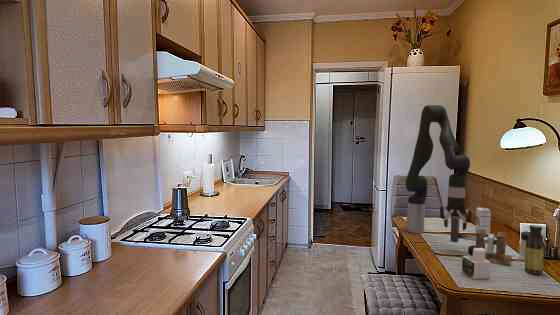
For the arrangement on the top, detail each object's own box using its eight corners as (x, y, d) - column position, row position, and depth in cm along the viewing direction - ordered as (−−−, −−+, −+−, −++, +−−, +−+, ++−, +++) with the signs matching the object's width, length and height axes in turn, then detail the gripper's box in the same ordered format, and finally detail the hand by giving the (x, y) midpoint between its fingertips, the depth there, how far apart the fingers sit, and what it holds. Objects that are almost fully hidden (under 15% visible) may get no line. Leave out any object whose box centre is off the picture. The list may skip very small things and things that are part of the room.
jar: (546, 261, 146) (548, 235, 145) (536, 264, 142) (538, 238, 141) (524, 254, 154) (526, 230, 153) (514, 257, 150) (516, 232, 150)
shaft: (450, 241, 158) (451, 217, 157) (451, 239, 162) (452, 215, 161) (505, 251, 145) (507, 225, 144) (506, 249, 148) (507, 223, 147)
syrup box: (490, 234, 183) (491, 210, 182) (478, 234, 185) (480, 209, 183) (485, 231, 189) (487, 207, 188) (474, 231, 190) (476, 207, 189)
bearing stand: (468, 257, 150) (469, 232, 150) (472, 250, 160) (473, 226, 159) (510, 266, 141) (511, 239, 140) (511, 257, 150) (512, 233, 149)
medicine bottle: (461, 271, 136) (462, 244, 135) (477, 271, 136) (478, 243, 135) (473, 279, 129) (474, 250, 128) (489, 278, 129) (491, 249, 128)
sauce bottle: (546, 276, 131) (549, 228, 129) (527, 274, 133) (530, 227, 131) (538, 269, 137) (541, 224, 136) (521, 268, 139) (524, 223, 137)
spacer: (487, 252, 148) (487, 237, 147) (488, 247, 153) (489, 233, 153) (492, 253, 147) (492, 238, 146) (493, 248, 152) (494, 234, 152)
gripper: (438, 195, 159) (437, 227, 160) (472, 198, 150) (470, 233, 151) (442, 192, 165) (440, 224, 166) (474, 196, 156) (472, 229, 157)
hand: (455, 228), depth 159 cm, fingers open, 7 cm apart
